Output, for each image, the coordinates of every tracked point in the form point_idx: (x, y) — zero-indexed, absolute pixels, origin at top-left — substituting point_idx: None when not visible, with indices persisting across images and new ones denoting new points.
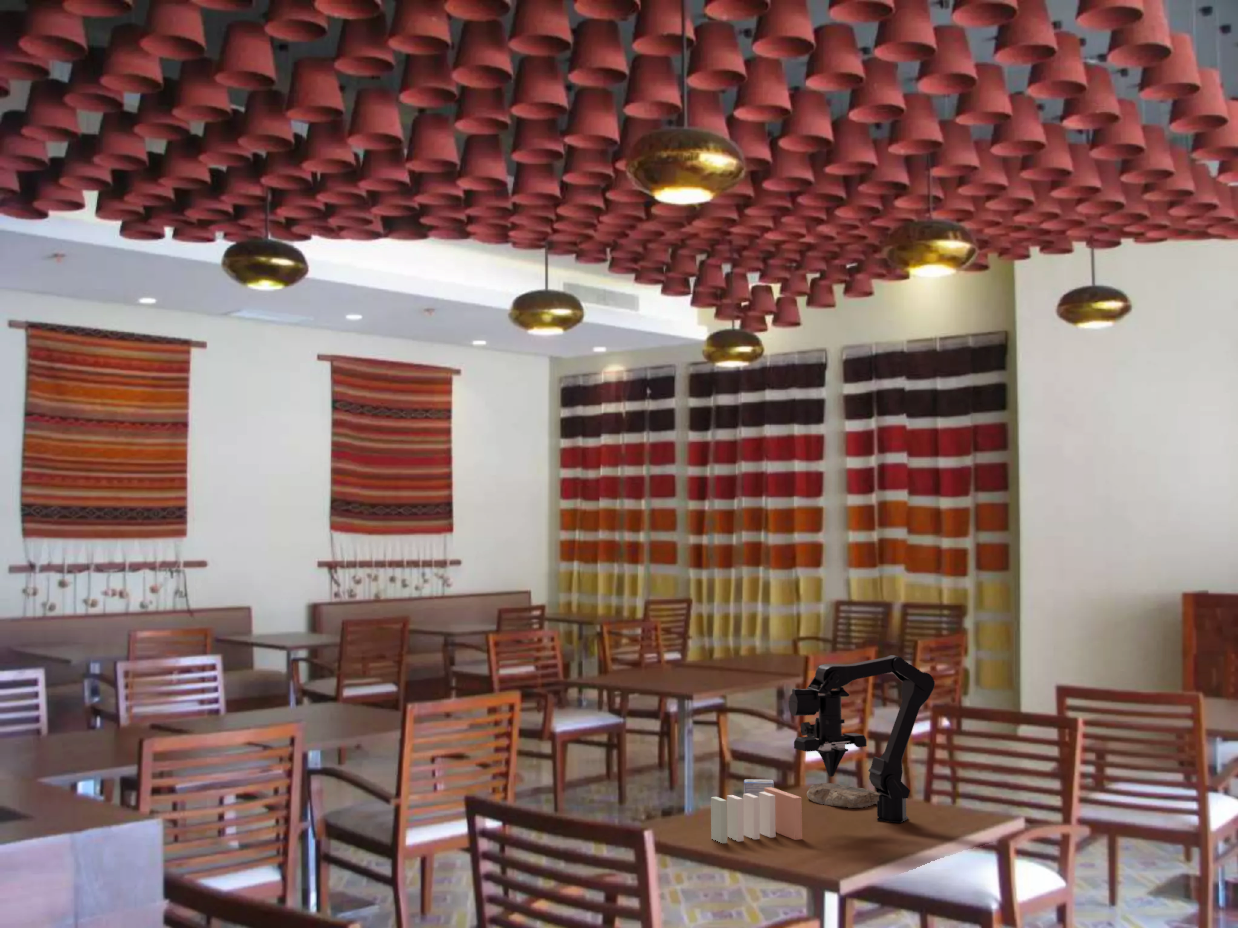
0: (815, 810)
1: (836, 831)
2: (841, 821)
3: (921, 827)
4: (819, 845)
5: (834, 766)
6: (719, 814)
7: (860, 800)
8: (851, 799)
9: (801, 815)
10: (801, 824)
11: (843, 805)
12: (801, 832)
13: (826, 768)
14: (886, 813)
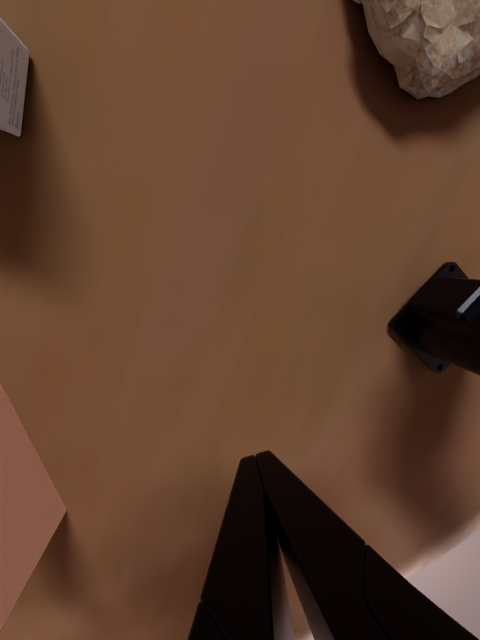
0: (245, 80)
1: (205, 436)
2: (273, 307)
3: (457, 419)
4: (102, 575)
5: (308, 619)
6: None
7: (470, 71)
8: (432, 73)
9: (16, 600)
10: (38, 558)
11: (386, 59)
12: (53, 530)
13: (225, 530)
14: (430, 347)
